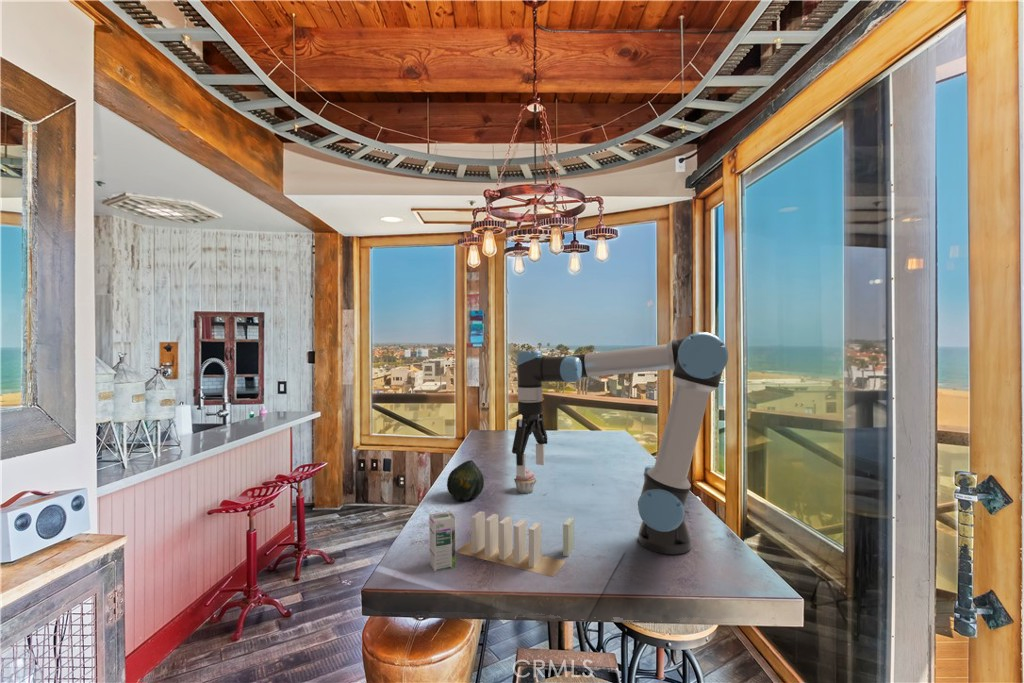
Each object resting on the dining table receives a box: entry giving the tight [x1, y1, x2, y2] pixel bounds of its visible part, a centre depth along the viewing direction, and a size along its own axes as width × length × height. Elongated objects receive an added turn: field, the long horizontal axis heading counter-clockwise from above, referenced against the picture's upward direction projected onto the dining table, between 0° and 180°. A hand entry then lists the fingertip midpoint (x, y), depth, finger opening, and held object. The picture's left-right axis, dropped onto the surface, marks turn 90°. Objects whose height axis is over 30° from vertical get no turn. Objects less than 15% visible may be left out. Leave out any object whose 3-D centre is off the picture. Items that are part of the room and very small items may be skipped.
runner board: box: [455, 540, 566, 578], centre depth 125 cm, size 30×9×1 cm, turn 63°
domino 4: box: [512, 518, 528, 564], centre depth 124 cm, size 2×5×10 cm, turn 153°
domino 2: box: [485, 513, 499, 557], centre depth 128 cm, size 2×5×10 cm, turn 153°
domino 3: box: [498, 516, 513, 560], centre depth 126 cm, size 2×5×10 cm, turn 153°
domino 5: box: [528, 521, 543, 568], centre depth 122 cm, size 2×5×10 cm, turn 153°
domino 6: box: [562, 517, 575, 557], centre depth 128 cm, size 2×5×10 cm, turn 153°
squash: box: [446, 459, 485, 502], centre depth 177 cm, size 14×15×15 cm
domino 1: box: [470, 510, 486, 553], centre depth 130 cm, size 2×5×10 cm, turn 153°
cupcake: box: [513, 467, 537, 494], centre depth 184 cm, size 9×9×10 cm
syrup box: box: [428, 510, 456, 572], centre depth 121 cm, size 6×6×14 cm
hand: (531, 470), depth 138 cm, fingers open, 13 cm apart
